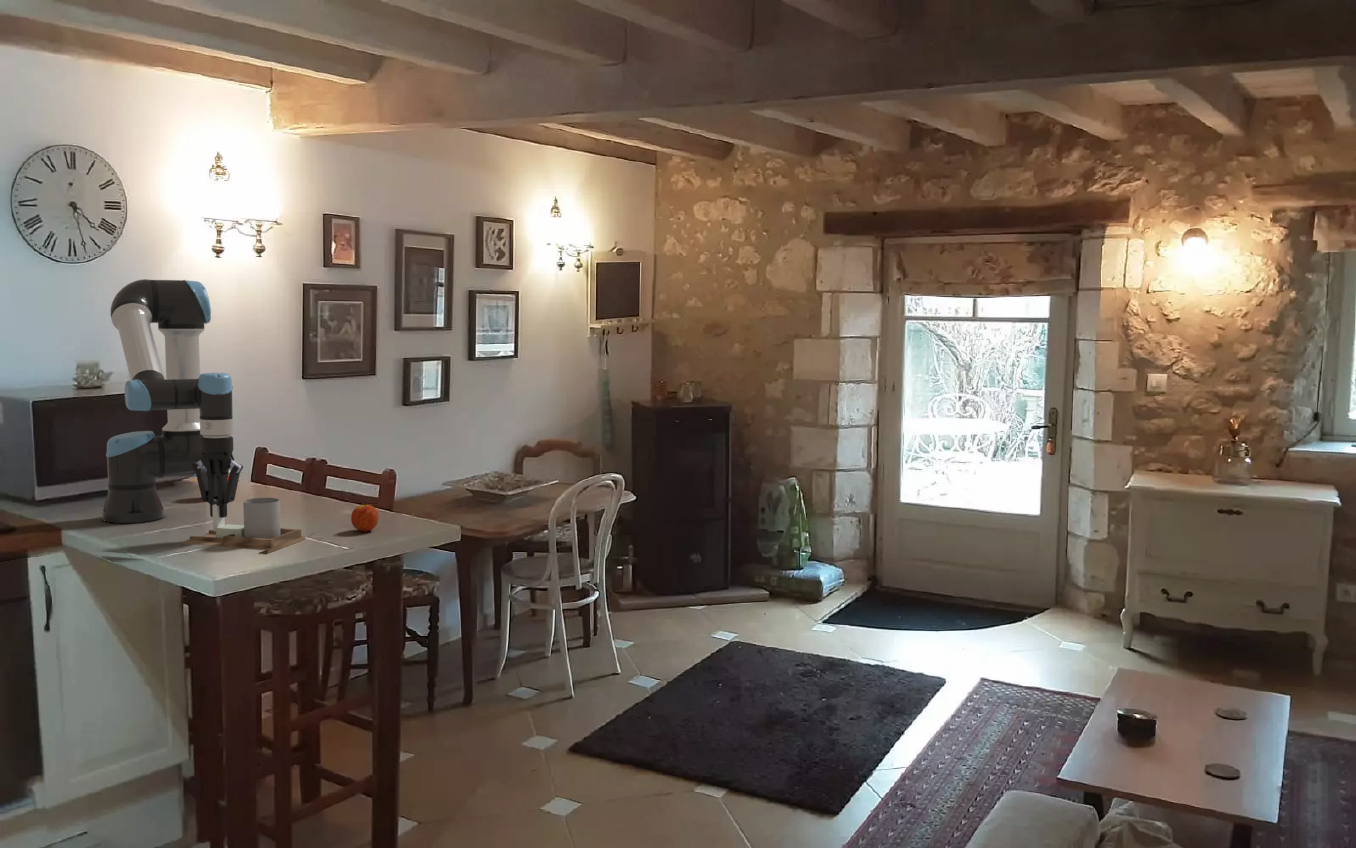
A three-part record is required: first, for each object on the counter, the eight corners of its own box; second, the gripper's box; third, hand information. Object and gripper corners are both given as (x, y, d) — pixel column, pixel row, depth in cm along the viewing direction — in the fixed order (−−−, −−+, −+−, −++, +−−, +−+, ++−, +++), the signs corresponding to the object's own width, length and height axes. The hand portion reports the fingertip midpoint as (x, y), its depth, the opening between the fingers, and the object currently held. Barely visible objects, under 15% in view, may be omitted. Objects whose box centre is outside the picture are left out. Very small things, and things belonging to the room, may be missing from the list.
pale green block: (216, 539, 268) (215, 527, 267) (227, 536, 272) (227, 524, 272) (241, 541, 266) (241, 529, 266) (252, 537, 270) (252, 526, 270)
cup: (257, 546, 262) (256, 505, 261) (237, 541, 266) (236, 501, 265) (287, 540, 269) (286, 500, 268) (267, 535, 273) (266, 496, 272)
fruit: (350, 529, 287) (349, 499, 286) (377, 527, 290) (376, 498, 289) (352, 534, 281) (352, 504, 280) (380, 532, 283) (379, 502, 283)
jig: (179, 547, 263) (178, 535, 263) (220, 533, 279) (220, 522, 279) (267, 553, 258) (267, 541, 258) (304, 539, 274) (304, 528, 273)
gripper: (183, 436, 265) (186, 531, 267) (230, 439, 262) (232, 535, 265) (203, 433, 272) (205, 525, 275) (249, 435, 269) (251, 529, 272)
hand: (219, 530), depth 270 cm, fingers closed
